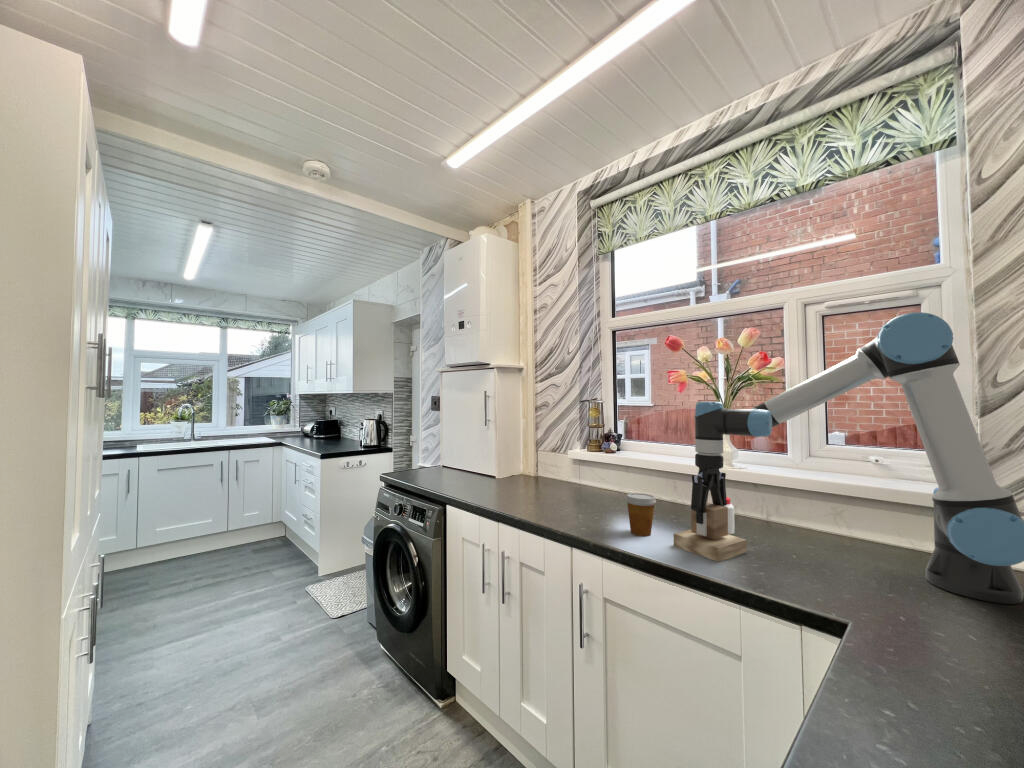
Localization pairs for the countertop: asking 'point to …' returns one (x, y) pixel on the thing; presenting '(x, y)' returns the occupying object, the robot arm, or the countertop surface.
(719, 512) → the walnut block
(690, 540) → the oak block
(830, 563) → the countertop surface
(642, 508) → the disposable coffee cup
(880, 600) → the countertop surface
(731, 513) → the pill bottle
